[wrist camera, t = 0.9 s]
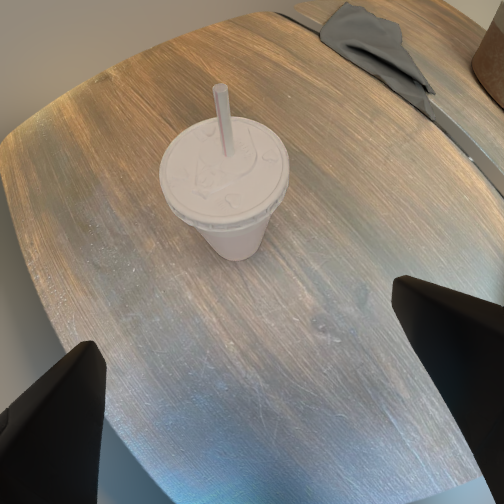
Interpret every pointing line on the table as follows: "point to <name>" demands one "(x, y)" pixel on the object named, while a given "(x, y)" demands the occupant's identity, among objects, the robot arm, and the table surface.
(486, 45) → the planter
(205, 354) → the table surface
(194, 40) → the table surface
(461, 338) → the robot arm
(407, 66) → the cloth
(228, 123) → the smoothie
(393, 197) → the table surface
